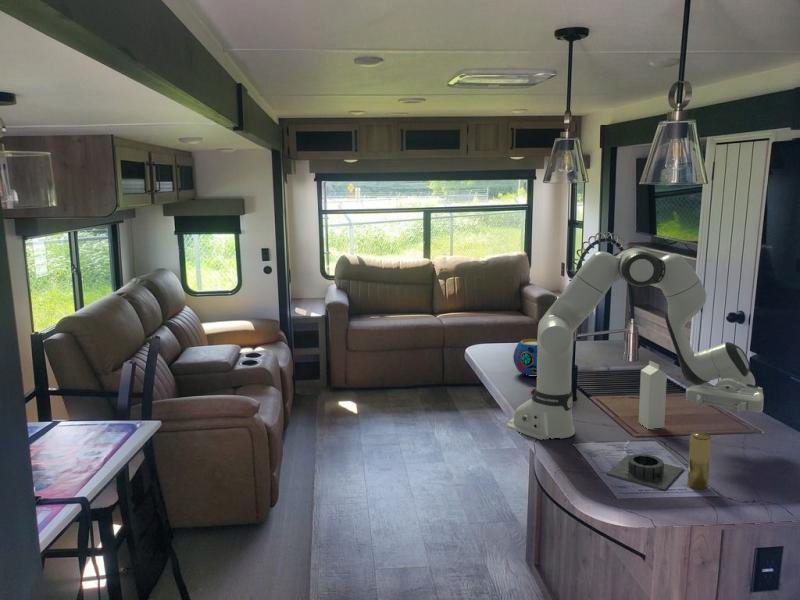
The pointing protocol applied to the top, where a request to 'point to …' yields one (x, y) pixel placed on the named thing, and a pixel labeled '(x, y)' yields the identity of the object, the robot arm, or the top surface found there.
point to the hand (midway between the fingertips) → (717, 405)
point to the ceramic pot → (526, 356)
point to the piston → (699, 460)
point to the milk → (652, 396)
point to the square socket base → (646, 471)
